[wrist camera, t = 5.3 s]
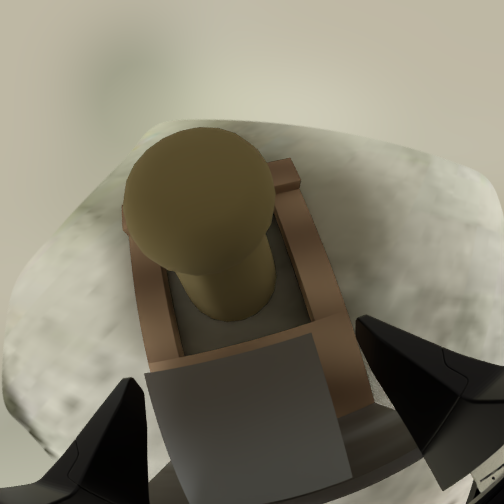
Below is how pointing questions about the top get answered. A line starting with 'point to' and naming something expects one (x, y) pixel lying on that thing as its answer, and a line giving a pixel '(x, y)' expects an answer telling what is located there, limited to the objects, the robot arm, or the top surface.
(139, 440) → the robot arm
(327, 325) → the wooden shape sorter tray
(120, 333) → the top surface
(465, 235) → the top surface
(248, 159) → the tan rounded peg
